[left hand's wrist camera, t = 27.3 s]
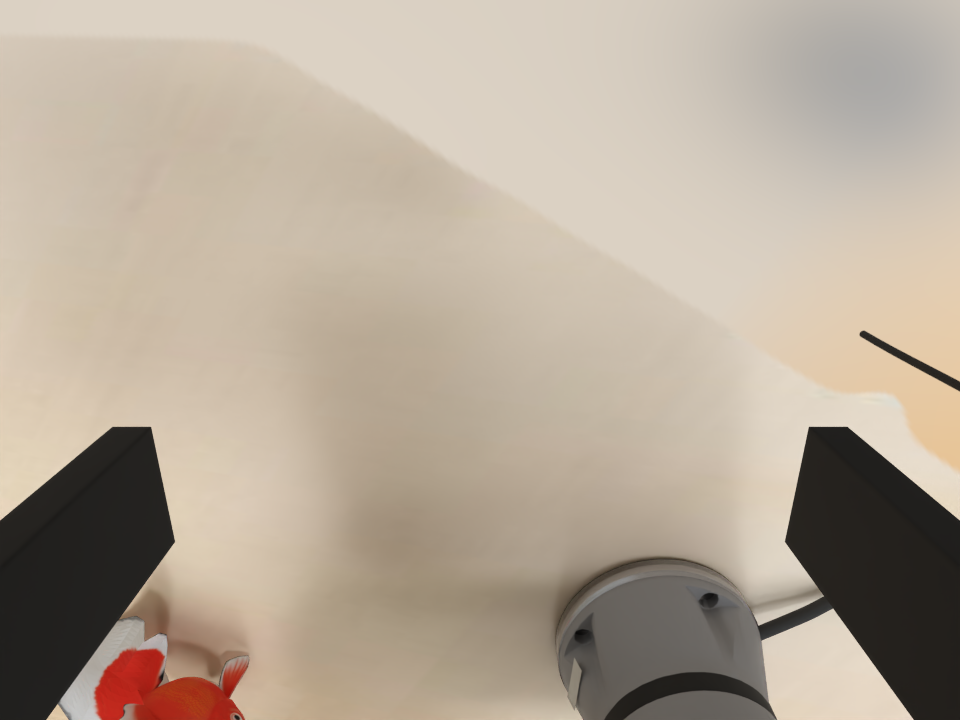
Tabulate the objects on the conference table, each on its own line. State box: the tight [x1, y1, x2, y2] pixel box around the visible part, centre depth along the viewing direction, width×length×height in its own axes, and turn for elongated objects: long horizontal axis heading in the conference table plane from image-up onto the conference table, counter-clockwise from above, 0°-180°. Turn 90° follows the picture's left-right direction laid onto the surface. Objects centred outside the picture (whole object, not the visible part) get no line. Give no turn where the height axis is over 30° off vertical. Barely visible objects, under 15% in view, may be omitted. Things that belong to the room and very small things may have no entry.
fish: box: [58, 616, 249, 720], centre depth 46 cm, size 11×16×10 cm
